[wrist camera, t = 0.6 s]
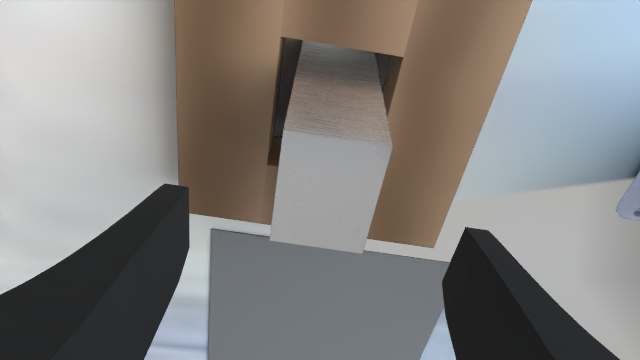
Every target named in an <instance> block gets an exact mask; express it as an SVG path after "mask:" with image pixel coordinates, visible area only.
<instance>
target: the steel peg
mask: <svg viewBox="0 0 640 360" xmlns="http://www.w3.org/2000/svg"><path fill="white" fill-rule="evenodd" d="M392 148H393V146H392V141H391V136H390V130H389V125H388V120H387V115H386V109H385V104H384V99H383V94H382V89H381V83H380V78H379V73H378V68H377V62H376V57H375V52H370V51H364V50H358V49H352V48H346V47H340V46H334V45H328V44H322V43H316V42H310V41H304V40H303V42H302V47H301V51H300V56H299V60H298V65H297V70H296V74H295V79H294V83H293V88H292V92H291V97H290V101H289V106H288V111H287V115H286V120H285V124H284V129H283V136H282V144H281V152H280V160H279V168H278V176H277V184H276V192H275V200H274V208H273V216H272V224H271V233H270V241H276V242H283V243H290V244H298V245H305V246H312V247H319V248H326V249H333V250H340V251H347V252H354V253H361V254H362V253H363V249H364V246H365V243H366V239H367V236H368V232H369V229H370V225H371V222H372V218H373V215H374V211H375V207H376V204H377V200H378V197H379V193H380V190H381V186H382V183H383V179H384V176H385V172H386V169H387V165H388V162H389V158H390V155H391V151H392Z"/></svg>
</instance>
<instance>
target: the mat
mask: <svg viewBox="0 0 640 360" xmlns="http://www.w3.org/2000/svg"><path fill="white" fill-rule="evenodd" d="M449 264H450V262H442V261H435V260H428V259H421V258H414V257H407V256H400V255H393V254H386V253H379V252H372V251H365V250H363V253H362V254H361V253H354V252H347V251H340V250H333V249H326V248H319V247H312V246H305V245H298V244H290V243H283V242H276V241H270V237H266V236H259V235H252V234H244V233H237V232H230V231H223V230H216V229H212V242H211V277H210V311H209V346H208V360H419V359H420V357H421V355H422V353H423V351H424V348H425V346H426V344H427V342H428V340H429V338H430V335H431V333H432V331H433V329H434V327H435V325H436V322H437V320H438V318H439V316H440V314H441V312H442V309H443V307H444V299H443V289H442V280H443V278H444V275H445V273H446V271H447V268H448V266H449Z"/></svg>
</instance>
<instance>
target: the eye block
mask: <svg viewBox="0 0 640 360" xmlns="http://www.w3.org/2000/svg"><path fill="white" fill-rule="evenodd" d="M174 2H175V45H176V88H177V132H178V175H179V186H184V187H189V213H191V214H198V215H205V216H212V217H219V218H226V219H233V220H240V221H247V222H254V223H261V224H268V225H271V224H272V216H273V208H274V200H275V192H276V184H277V176H278V168H279V160H280V152H281V144H282V138H279V137H274V131H275V122H276V113H277V104H278V95H279V86H280V77H281V68H282V59H283V50H284V42H285V37H286V38H292V39H298V40H304V41H310V42H316V43H322V44H328V45H334V46H340V47H346V48H352V49H358V50H364V51H370V52H376V53H382V54H388V55H392V56H391V60H390V64H389V68H388V72H387V76H386V80H385V84H384V88H383V92H382V94H383V99H384V104H385V109H386V115H387V120H388V125H389V130H390V136H391V141H392V146H393V148H392V151H391V155H390V158H389V162H388V165H387V169H386V172H385V176H384V179H383V183H382V186H381V190H380V193H379V197H378V200H377V204H376V207H375V211H374V215H373V218H372V222H371V225H370V229H369V232H368V236H367V239H374V240H380V241H388V242H394V243H401V244H408V245H415V246H422V247H429V248H434V246H435V243H436V240H437V238H438V236H439V233H440V231H441V228H442V226H443V223H444V221H445V218H446V216H447V213H448V210H449V208H450V206H451V203H452V201H453V198H454V196H455V193H456V191H457V188H458V186H459V183H460V181H461V178H462V176H463V173H464V171H465V168H466V166H467V163H468V161H469V158H470V156H471V153H472V151H473V148H474V146H475V143H476V141H477V138H478V136H479V133H480V131H481V128H482V126H483V123H484V121H485V118H486V116H487V113H488V111H489V108H490V106H491V103H492V101H493V98H494V95H495V93H496V90H497V88H498V85H499V83H500V80H501V78H502V75H503V73H504V70H505V68H506V65H507V63H508V60H509V58H510V55H511V53H512V50H513V48H514V45H515V43H516V40H517V38H518V35H519V33H520V30H521V28H522V25H523V23H524V20H525V18H526V15H527V13H528V10H529V8H530V5H531V3H532V0H174Z"/></svg>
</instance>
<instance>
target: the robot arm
mask: <svg viewBox="0 0 640 360" xmlns="http://www.w3.org/2000/svg"><path fill="white" fill-rule="evenodd" d="M638 209H640V172H639V173H638V175H637V176H636V178H635V179H634V181H633V182H632V184H631V185H630V187H629V188H628V190H627V191H626V193H625V194H624V196H623V197H622V199H621V200H620V202H619V203H618V205H617V207H616V212H617V213H618V214H619V215H620V216H621V217H622V218H625V219H632V220H639V221H640V210H639V211H636V210H638ZM635 211H636V212H635ZM188 250H189V187H184V186H177V185H170V184H164V185H162V186H161V187H159V188H158V189H157V190H156V191H154V192H153V193H152V194H151V195H150V196H148V197H147V198H146V199H145V200H144V201H142V202H141V203H140V204H139V205H137V206H136V207H135V208H134V209H133V210H131V211H130V212H129V213H128V214H126V215H125V216H124V217H122V218H121V219H120V220H119V221H117V222H116V223H115V224H113V225H112V226H111V227H109V228H108V229H107V230H106V231H104V232H103V233H102V234H100V235H99V236H97V237H96V238H95V239H93V240H92V241H90V242H89V243H87V244H86V245H84V246H83V247H82V248H80V249H79V250H77V251H76V252H74V253H73V254H71V255H70V256H68V257H67V258H65V259H64V260H62V261H61V262H59V263H57V264H56V265H54V266H53V267H51V268H49V269H47V270H46V271H44V272H42V273H41V274H39V275H37V276H35V277H34V278H32V279H30V280H28V281H26V282H25V283H23V284H21V285H19V286H17V287H15V288H13V289H11V290H9V291H7V292H5V293H3V294H1V295H0V360H144V358H145V356H146V354H147V351H148V349H149V347H150V345H151V343H152V340H153V338H154V336H155V334H156V331H157V329H158V327H159V325H160V323H161V320H162V318H163V316H164V314H165V312H166V309H167V307H168V305H169V303H170V300H171V298H172V296H173V294H174V291H175V289H176V287H177V285H178V282H179V279H180V276H181V273H182V270H183V267H184V263H185V260H186V257H187V253H188ZM442 289H443V299H444V307H445V315H446V320H447V324H448V329H449V333H450V337H451V341H452V345H453V348H454V352H455V356H456V360H620V359H619V358H617V357H616V356H615V355H614V354H613V353H611V352H610V351H609V350H608V349H607V348H606V347H604V346H603V345H602V344H601V343H599V342H598V341H597V340H596V339H595V338H593V336H591V335H590V334H589V333H588V332H587V331H586V330H585V329H584V328H583V327H581V326H580V325H579V324H578V323H577V322H576V321H575V320H574V319H573V318H572V317H571V316H570V315H569V314H568V313H567V312H566V311H564V309H562V307H560V306H559V305H558V303H556V302H555V300H554V299H552V298H551V297H550V295H549V294H548V293H547V292H546V291H545V290H544V289H543V288H542V287H541V286H540V285H539V284H538V283H537V282H536V281H535V280H534V279H533V278H532V277H531V276H530V274H529V273H528V272H527V271H526V270H525V269H524V268H523V267H522V266H521V265H520V264H519V263H518V261H517V260H516V259H515V258H514V257H513V256H512V255H511V254H510V253H509V252H508V251H507V250H506V249H505V247H504V246H503V245H502V244H501V243H500V242H499V241H498V240H497V239H496V238H495V237H494V236H493V235H492V234H491V233H490V232H489V231H487V230H481V229H474V228H468V227H467V228H466V227H465V230H464V232H463V234H462V237H461V239H460V241H459V243H458V246H457V248H456V250H455V253H454V255H453V257H452V259H451V262H450V264H449V266H448V268H447V271H446V273H445V275H444V278H443V280H442Z"/></svg>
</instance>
